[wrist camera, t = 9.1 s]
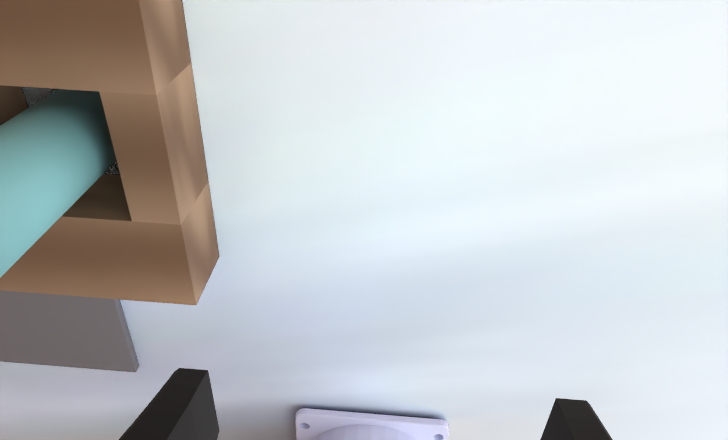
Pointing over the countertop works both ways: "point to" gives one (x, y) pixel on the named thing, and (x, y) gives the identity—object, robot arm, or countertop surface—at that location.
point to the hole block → (118, 149)
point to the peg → (48, 165)
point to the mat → (65, 331)
